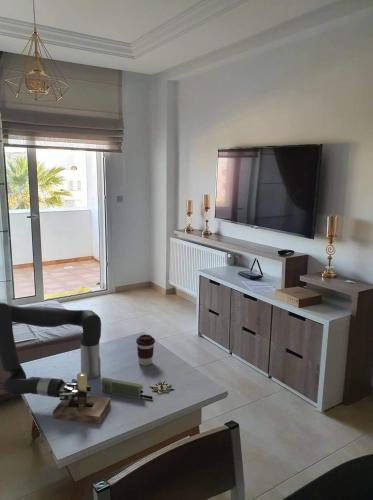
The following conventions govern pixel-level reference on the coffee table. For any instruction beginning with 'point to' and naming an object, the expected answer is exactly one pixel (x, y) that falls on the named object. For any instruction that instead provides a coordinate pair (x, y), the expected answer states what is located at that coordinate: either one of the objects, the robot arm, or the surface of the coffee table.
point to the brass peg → (82, 388)
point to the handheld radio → (123, 388)
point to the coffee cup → (145, 349)
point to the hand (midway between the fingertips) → (88, 391)
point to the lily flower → (161, 386)
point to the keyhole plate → (83, 410)
